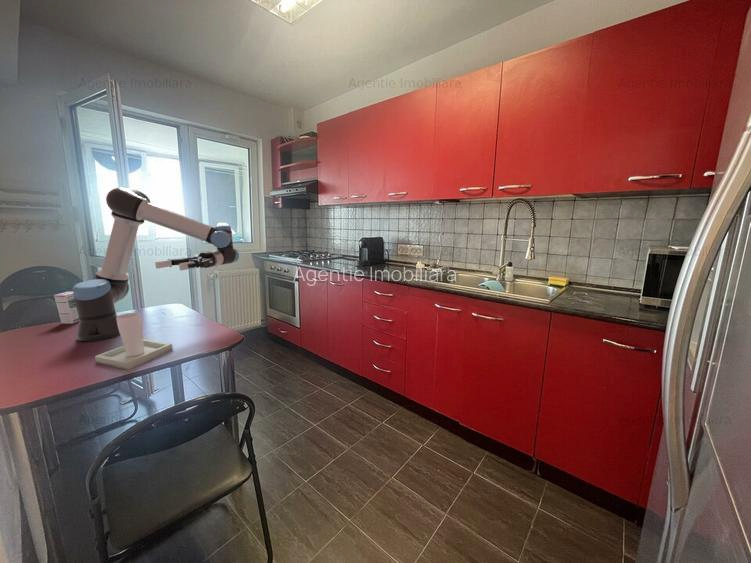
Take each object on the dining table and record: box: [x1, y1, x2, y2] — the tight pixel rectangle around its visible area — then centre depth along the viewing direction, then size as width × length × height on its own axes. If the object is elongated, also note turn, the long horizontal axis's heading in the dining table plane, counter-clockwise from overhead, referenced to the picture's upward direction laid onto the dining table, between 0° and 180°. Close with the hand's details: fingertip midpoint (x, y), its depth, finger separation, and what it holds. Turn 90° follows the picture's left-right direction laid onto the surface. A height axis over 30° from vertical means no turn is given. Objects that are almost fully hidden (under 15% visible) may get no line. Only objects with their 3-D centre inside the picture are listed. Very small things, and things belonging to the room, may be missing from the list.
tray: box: [94, 338, 173, 371], centre depth 109 cm, size 16×16×2 cm
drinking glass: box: [116, 312, 145, 357], centre depth 108 cm, size 7×7×15 cm
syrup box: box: [53, 291, 80, 325], centre depth 142 cm, size 6×6×14 cm
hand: (167, 266), depth 123 cm, fingers open, 13 cm apart
